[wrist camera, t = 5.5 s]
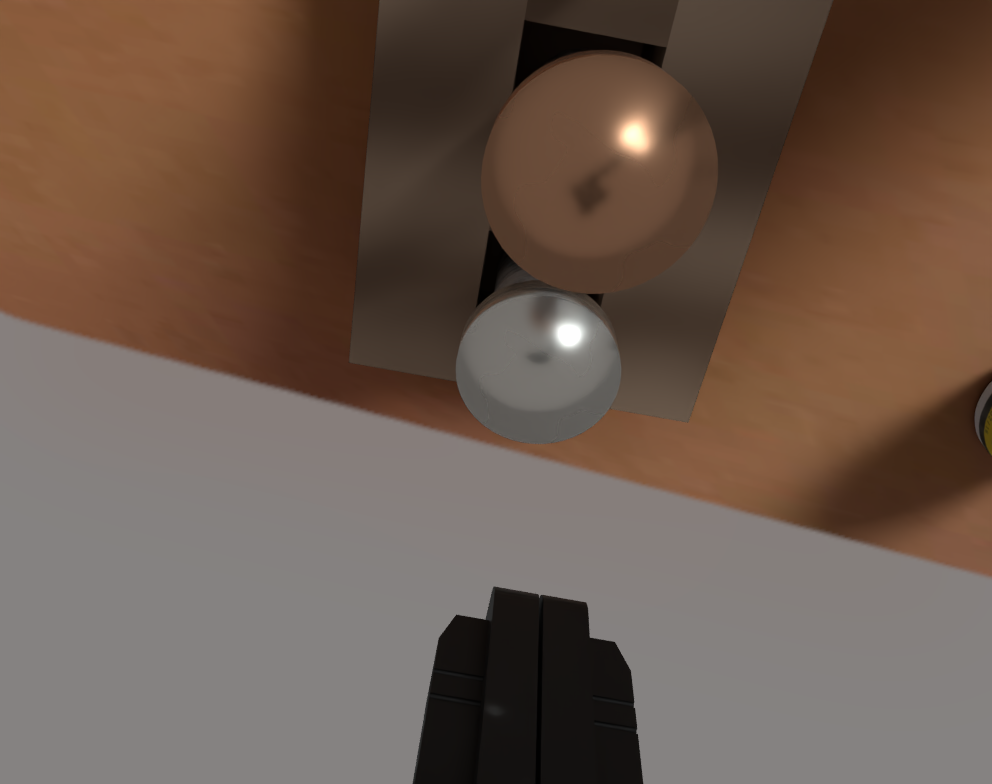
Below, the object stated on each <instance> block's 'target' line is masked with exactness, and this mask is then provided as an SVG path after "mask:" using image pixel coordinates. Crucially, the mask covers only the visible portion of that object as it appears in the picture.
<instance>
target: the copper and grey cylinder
mask: <svg viewBox="0 0 992 784" xmlns="http://www.w3.org/2000/svg"><path fill="white" fill-rule="evenodd" d="M717 180H718V156H717V150H716V144H715V140H714V137H713V133H712V130H711V127H710V125H709V123H708V121H707V118H706V116H705V114H704V112H703V111H702V109H701V108H700V106H699V105H698V103H697V102H696V100H695V99H694V98H693V96H692V95H691V94H690V93H689V92H688V91H687V90H686V89H685V87H683V86H682V85H681V84H680V83H679V82H677V81H676V80H675V79H674V78H673V77H671V76H670V75H669V74H668V73H667V72H666V71H664V70H663V69H662V68H660V67H658V66H657V65H655V64H654V63H652V62H650V61H648V60H646V59H643V58H641V57H639V56H636V55H633V54H629V53H625V52H622V51H613V50H592V49H587V48H574V49H569V50H566V51H563V52H560V53H558V54H556V55H555V56H553V57H552V58H550V59H549V60H548V61H547V62H546V63H545V64H544V65H543V66H542V67H541V68H539V69H538V70H536V71H535V72H533V73H532V74H531V75H530V76H529V77H527V78H526V79H525V80H524V81H523V82H521V84H520V85H519V86H518V87H517V88H516V89H515V90H514V91H513V92H512V94H511V95H510V96H509V98H508V99H507V101H506V102H505V103H504V105H503V106H502V108H501V110H500V112H499V114H498V116H497V118H496V120H495V122H494V125H493V128H492V130H491V133H490V136H489V139H488V142H487V145H486V148H485V153H484V157H483V162H482V172H481V192H482V199H483V205H484V209H485V213H486V216H487V219H488V222H489V224H490V227H491V229H492V231H493V233H494V235H495V237H496V239H497V240H498V242H499V243H500V245H501V247H502V248H503V249H504V250H505V252H506V253H507V254H508V255H509V257H510V258H511V259H512V260H513V261H514V262H515V263H516V264H517V265H519V266H520V267H521V268H522V269H523V270H525V271H526V272H527V273H529V274H530V275H531V276H533V277H535V278H536V279H538V280H540V281H542V282H544V283H546V284H548V285H551V286H554V287H556V288H559V289H563V290H567V291H571V292H577V293H586V294H602V293H610V292H617V291H621V290H625V289H629V288H632V287H634V286H637V285H640V284H642V283H645V282H646V281H648V280H650V279H652V278H654V277H656V276H658V275H659V274H661V273H662V272H663V271H665V270H666V269H668V268H669V267H670V266H672V265H673V264H674V263H675V262H676V261H677V260H678V259H680V258H681V257H682V255H683V254H684V253H685V252H686V251H687V250H688V249H689V248H690V247H691V245H692V244H693V242H694V241H695V240H696V238H697V237H698V235H699V234H700V232H701V230H702V228H703V226H704V225H705V223H706V221H707V219H708V216H709V213H710V211H711V208H712V206H713V202H714V198H715V194H716V189H717Z"/></svg>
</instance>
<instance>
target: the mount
mask: <svg viewBox="0 0 992 784" xmlns="http://www.w3.org/2000/svg"><path fill="white" fill-rule="evenodd" d="M832 2H833V0H379V12H378V23H377V35H376V47H375V59H374V71H373V83H372V94H371V106H370V118H369V130H368V142H367V154H366V165H365V177H364V189H363V201H362V213H361V225H360V237H359V248H358V260H357V272H356V284H355V296H354V308H353V319H352V331H351V343H350V355H349V363H354V364H359V365H365V366H371V367H376V368H382V369H388V370H393V371H399V372H405V373H410V374H416V375H422V376H427V377H433V378H439V379H444V380H450V381H456V382H457V380H456V359H457V355H458V351H459V346H460V342H461V338H462V333H463V330H464V328H465V325H466V323H467V321H468V319H469V317H470V316H471V314H472V313H473V311H474V310H475V309H476V307H477V306H478V305H479V304H480V303H481V302H482V301H483V300H484V299H486V298H487V297H488V296H490V295H491V294H492V293H494V289H495V283H496V277H497V271H498V264H499V258H500V252H501V245H500V243H499V242H498V240H497V239H496V237H495V235H494V233H493V231H492V229H491V227H490V224H489V222H488V219H487V216H486V213H485V209H484V205H483V199H482V192H481V172H482V162H483V157H484V153H485V148H486V145H487V142H488V139H489V136H490V133H491V130H492V128H493V125H494V122H495V120H496V118H497V116H498V114H499V112H500V110H501V108H502V106H503V105H504V103H505V102H506V101H507V99H508V98H509V96H510V95H511V94H512V92H513V91H514V90H515V89H516V88H517V87H518V86H519V85H520V84H521V82H523V81H524V80H525V79H526V78H527V77H529V76H530V75H531V74H532V73H533V72H535V71H536V70H538V69H539V68H541V67H542V66H543V65H544V64H545V63H546V62H547V61H548V60H549V59H550V58H552V57H553V56H555V55H556V54H558V53H560V52H563V51H566V50H569V49H574V48H587V49H592V50H613V51H622V52H625V53H629V54H633V55H636V56H639V57H641V58H643V59H646V60H648V61H650V62H652V63H654V64H655V65H657V66H658V67H660V68H662V69H663V70H664V71H666V72H667V73H668V74H669V75H670V76H671V77H673V78H674V79H675V80H676V81H677V82H679V83H680V84H681V85H682V86H683V87H685V89H686V90H687V91H688V92H689V93H690V94H691V95H692V96H693V98H694V99H695V100H696V102H697V103H698V105H699V106H700V108H701V109H702V111H703V112H704V114H705V116H706V118H707V121H708V123H709V125H710V127H711V130H712V133H713V137H714V140H715V144H716V150H717V156H718V180H717V189H716V194H715V198H714V202H713V206H712V208H711V211H710V213H709V216H708V219H707V221H706V223H705V225H704V226H703V228H702V230H701V232H700V234H699V235H698V237H697V238H696V240H695V241H694V242H693V244H692V245H691V247H690V248H689V249H688V250H687V251H686V252H685V253H684V254H683V255H682V257H681V258H680V259H678V260H677V261H676V262H675V263H674V264H673V265H672V266H670V267H669V268H668V269H666V270H665V271H663V272H662V273H661V274H659V275H658V276H656V277H654V278H652V279H650V280H648V281H646V282H645V283H642V284H640V285H637V286H634V287H632V288H629V289H625V290H621V291H617V292H610V293H602V294H586V293H585V294H586V295H588V296H589V297H591V298H592V299H593V300H594V301H595V302H596V303H597V304H598V305H599V306H600V307H601V308H602V309H603V311H604V312H605V313H606V315H607V316H608V318H609V320H610V322H611V324H612V326H613V329H614V331H615V335H616V339H617V344H618V350H619V355H620V360H621V380H620V385H619V389H618V392H617V395H616V398H615V399H614V401H613V403H612V405H611V407H610V408H609V409H614V410H620V411H626V412H631V413H637V414H643V415H648V416H654V417H660V418H665V419H671V420H677V421H682V422H689V419H690V416H691V413H692V410H693V407H694V405H695V402H696V399H697V396H698V393H699V390H700V387H701V384H702V381H703V378H704V375H705V372H706V370H707V367H708V364H709V361H710V358H711V355H712V352H713V349H714V346H715V343H716V340H717V338H718V335H719V332H720V329H721V326H722V323H723V320H724V317H725V314H726V311H727V308H728V305H729V303H730V300H731V297H732V294H733V291H734V288H735V285H736V282H737V279H738V276H739V273H740V270H741V268H742V265H743V262H744V259H745V256H746V253H747V250H748V247H749V244H750V241H751V238H752V236H753V233H754V230H755V227H756V224H757V221H758V218H759V215H760V212H761V209H762V206H763V203H764V201H765V198H766V195H767V192H768V189H769V186H770V183H771V180H772V177H773V174H774V171H775V168H776V166H777V163H778V160H779V157H780V154H781V151H782V148H783V145H784V142H785V139H786V136H787V134H788V131H789V128H790V125H791V122H792V119H793V116H794V113H795V110H796V107H797V104H798V101H799V99H800V96H801V93H802V90H803V87H804V84H805V81H806V78H807V75H808V72H809V69H810V67H811V64H812V61H813V58H814V55H815V52H816V49H817V46H818V43H819V40H820V37H821V34H822V32H823V29H824V26H825V23H826V20H827V17H828V14H829V11H830V8H831V5H832Z"/></svg>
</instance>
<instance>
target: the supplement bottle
mask: <svg viewBox="0 0 992 784" xmlns="http://www.w3.org/2000/svg"><path fill="white" fill-rule="evenodd" d="M975 429H976V433H977V435H978V438H979V440H980V442H981V443H982V445H983V446H984V447H985V449H986V450H987V451H988V453H989V454H990V455H991V456H992V381H991V382H990V384H989V385H988V386H987V387H986V389H985V390H984V392H983V393H982V395H981V397H980V399H979V401H978V404H977V407H976V410H975Z"/></svg>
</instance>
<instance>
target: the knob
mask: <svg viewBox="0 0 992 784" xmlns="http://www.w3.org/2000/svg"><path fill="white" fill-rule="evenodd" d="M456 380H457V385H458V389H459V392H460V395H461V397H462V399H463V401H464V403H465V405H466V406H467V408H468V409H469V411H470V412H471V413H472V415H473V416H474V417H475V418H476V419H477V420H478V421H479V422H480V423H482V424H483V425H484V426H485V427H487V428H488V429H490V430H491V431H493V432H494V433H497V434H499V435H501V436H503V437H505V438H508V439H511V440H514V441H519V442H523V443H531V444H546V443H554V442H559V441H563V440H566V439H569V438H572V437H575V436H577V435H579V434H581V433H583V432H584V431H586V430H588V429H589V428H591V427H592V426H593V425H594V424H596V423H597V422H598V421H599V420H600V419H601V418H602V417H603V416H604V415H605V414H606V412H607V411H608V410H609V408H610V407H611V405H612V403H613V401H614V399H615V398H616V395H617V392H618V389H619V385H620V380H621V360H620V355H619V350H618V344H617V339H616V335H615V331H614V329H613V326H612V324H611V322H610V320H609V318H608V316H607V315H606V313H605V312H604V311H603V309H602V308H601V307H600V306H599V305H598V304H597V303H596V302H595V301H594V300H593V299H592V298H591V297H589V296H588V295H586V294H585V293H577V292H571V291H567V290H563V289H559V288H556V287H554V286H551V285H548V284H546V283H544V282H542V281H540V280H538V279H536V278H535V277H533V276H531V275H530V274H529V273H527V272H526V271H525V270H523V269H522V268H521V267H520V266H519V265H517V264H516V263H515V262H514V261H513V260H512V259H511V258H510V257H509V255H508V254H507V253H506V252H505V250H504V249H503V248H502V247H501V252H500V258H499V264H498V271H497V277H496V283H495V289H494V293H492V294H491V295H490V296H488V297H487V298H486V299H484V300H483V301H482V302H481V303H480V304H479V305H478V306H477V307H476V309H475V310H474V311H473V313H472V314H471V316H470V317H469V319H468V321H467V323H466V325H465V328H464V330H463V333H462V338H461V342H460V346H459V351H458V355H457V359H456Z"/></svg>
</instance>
